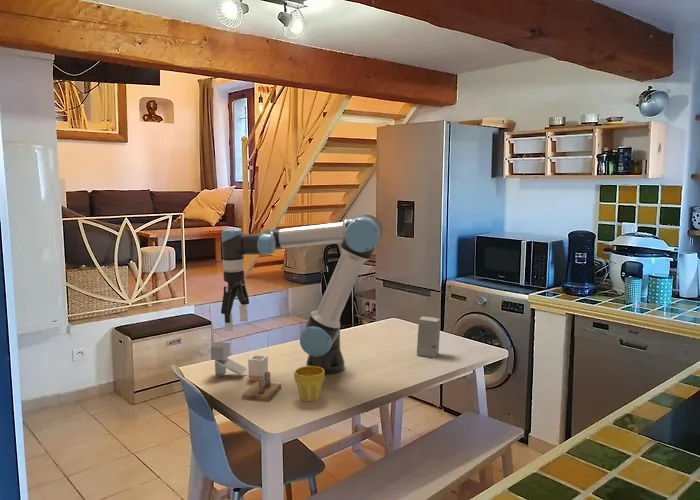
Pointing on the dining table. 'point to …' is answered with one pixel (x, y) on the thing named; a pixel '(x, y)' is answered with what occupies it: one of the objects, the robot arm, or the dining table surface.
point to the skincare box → (428, 337)
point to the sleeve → (257, 367)
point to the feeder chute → (224, 360)
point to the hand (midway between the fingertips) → (236, 326)
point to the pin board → (261, 397)
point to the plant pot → (309, 382)
